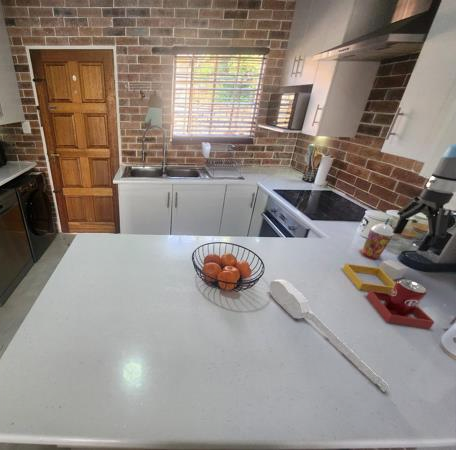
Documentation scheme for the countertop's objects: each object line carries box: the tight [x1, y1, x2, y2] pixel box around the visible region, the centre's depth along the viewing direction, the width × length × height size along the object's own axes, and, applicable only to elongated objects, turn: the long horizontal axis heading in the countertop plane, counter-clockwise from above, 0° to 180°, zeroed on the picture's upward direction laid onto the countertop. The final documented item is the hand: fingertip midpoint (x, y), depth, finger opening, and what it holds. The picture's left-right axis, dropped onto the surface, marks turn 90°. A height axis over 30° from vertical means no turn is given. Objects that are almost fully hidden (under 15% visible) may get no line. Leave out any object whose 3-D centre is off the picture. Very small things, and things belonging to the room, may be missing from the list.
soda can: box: [382, 278, 427, 317], centre depth 83 cm, size 7×7×12 cm
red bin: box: [365, 291, 435, 330], centre depth 85 cm, size 12×12×4 cm
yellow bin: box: [342, 263, 396, 293], centre depth 100 cm, size 13×13×4 cm
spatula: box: [268, 279, 390, 392], centre depth 75 cm, size 38×8×4 cm
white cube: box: [378, 259, 409, 281], centre depth 104 cm, size 6×6×6 cm
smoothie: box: [361, 218, 395, 260], centre depth 115 cm, size 8×8×20 cm
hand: (408, 241), depth 97 cm, fingers open, 13 cm apart
